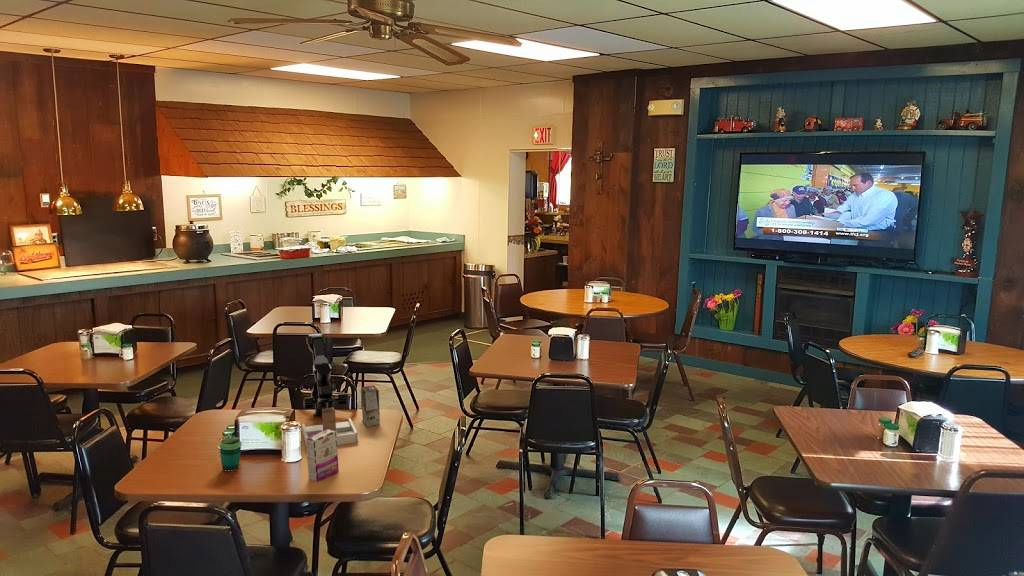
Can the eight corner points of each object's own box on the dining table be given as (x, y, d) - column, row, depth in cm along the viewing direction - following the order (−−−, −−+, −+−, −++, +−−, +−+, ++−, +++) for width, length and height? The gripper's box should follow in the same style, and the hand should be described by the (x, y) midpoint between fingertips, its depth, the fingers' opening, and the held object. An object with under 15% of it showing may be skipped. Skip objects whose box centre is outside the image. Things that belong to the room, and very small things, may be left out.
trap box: (302, 432, 319) (302, 423, 318) (350, 426, 326) (350, 417, 326) (306, 449, 299) (306, 440, 299) (357, 442, 307) (357, 433, 306)
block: (323, 431, 313) (321, 408, 312) (334, 429, 315) (333, 407, 314) (324, 434, 309) (323, 412, 307) (336, 433, 310) (335, 410, 309)
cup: (238, 463, 285) (235, 434, 283) (247, 469, 280) (245, 439, 278) (217, 469, 280) (215, 440, 278) (226, 475, 274) (224, 445, 272)
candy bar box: (329, 469, 279) (327, 428, 276) (339, 471, 276) (336, 430, 274) (307, 479, 269) (305, 437, 267) (317, 482, 267) (314, 440, 264)
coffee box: (380, 424, 328) (379, 390, 326) (366, 426, 326) (365, 392, 323) (375, 418, 337) (374, 385, 334) (361, 420, 334) (360, 386, 331)
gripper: (302, 380, 313) (306, 412, 304) (346, 375, 319) (351, 406, 311) (302, 392, 321) (305, 424, 313) (344, 388, 328) (349, 418, 319)
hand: (328, 418), depth 314 cm, fingers closed
